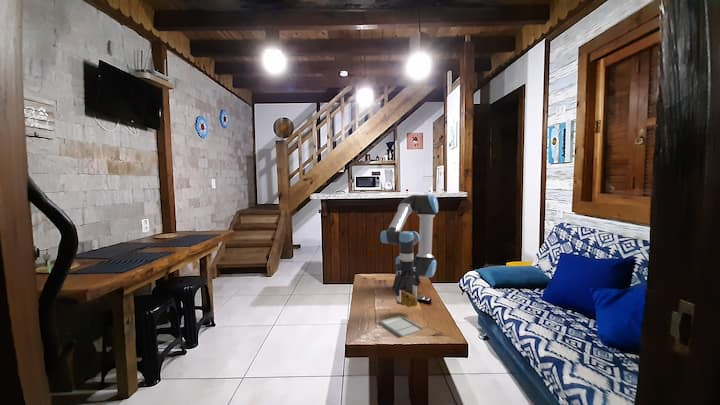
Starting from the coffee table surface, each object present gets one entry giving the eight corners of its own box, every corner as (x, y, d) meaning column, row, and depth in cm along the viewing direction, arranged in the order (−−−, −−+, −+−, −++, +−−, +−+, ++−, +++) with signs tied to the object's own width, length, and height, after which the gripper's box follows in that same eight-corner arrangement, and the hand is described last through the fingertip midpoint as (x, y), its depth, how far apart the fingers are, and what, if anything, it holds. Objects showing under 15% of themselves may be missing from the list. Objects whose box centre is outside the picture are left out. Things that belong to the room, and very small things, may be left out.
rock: (406, 307, 175) (419, 296, 173) (409, 316, 167) (422, 304, 165) (392, 296, 173) (405, 284, 171) (394, 304, 165) (407, 292, 163)
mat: (399, 316, 166) (399, 314, 166) (422, 329, 151) (422, 327, 151) (378, 322, 159) (378, 320, 159) (400, 337, 144) (400, 334, 144)
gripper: (417, 255, 176) (418, 292, 178) (385, 261, 164) (386, 301, 166) (427, 258, 170) (427, 296, 172) (394, 265, 158) (394, 306, 160)
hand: (407, 298), depth 169 cm, fingers closed on rock, 11 cm apart
